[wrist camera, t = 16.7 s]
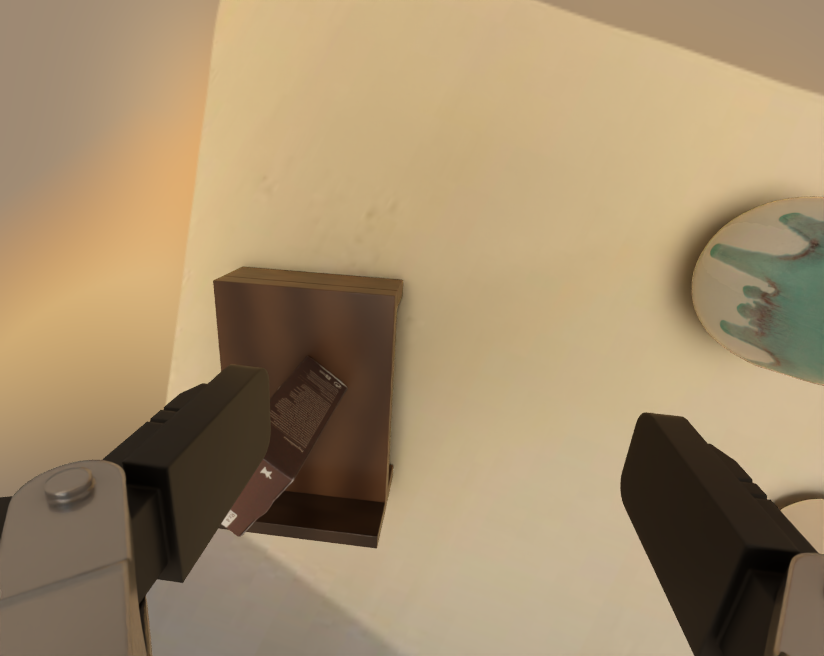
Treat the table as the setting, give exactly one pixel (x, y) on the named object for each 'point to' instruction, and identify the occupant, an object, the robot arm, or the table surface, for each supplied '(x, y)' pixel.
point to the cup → (808, 520)
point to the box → (288, 439)
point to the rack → (349, 362)
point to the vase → (767, 287)
